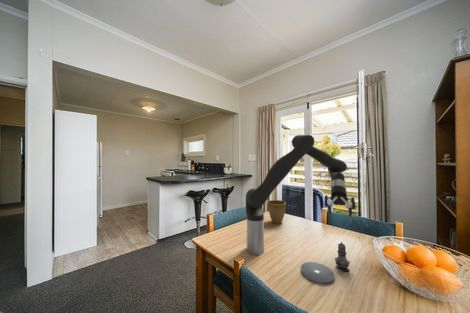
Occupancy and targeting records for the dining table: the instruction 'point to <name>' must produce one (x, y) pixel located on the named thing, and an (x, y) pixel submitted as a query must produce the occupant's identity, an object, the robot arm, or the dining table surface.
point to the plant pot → (276, 210)
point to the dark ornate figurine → (342, 259)
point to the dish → (317, 273)
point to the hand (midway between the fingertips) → (339, 214)
